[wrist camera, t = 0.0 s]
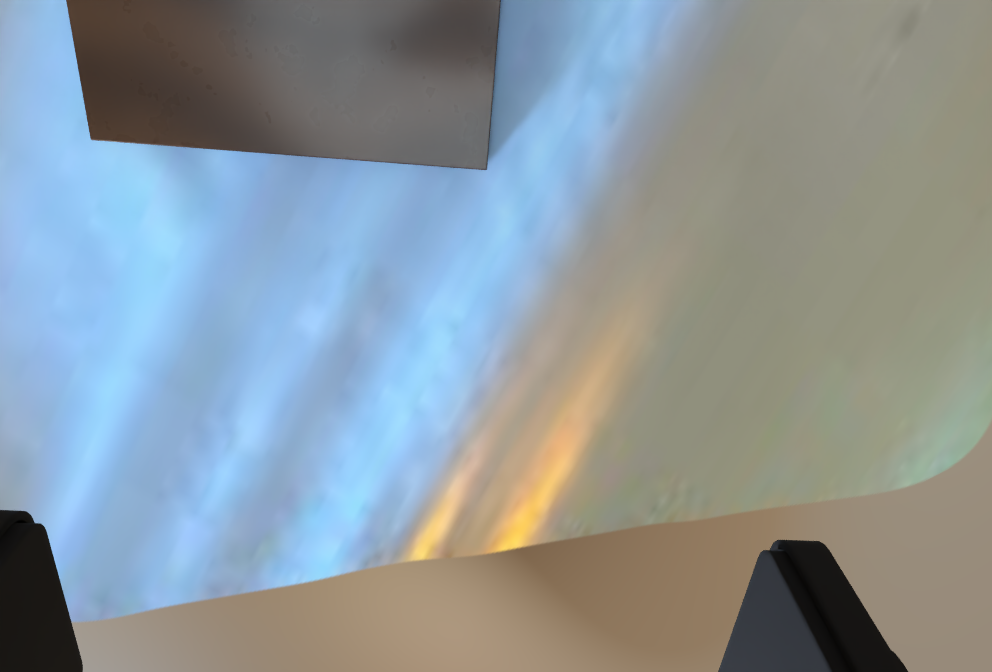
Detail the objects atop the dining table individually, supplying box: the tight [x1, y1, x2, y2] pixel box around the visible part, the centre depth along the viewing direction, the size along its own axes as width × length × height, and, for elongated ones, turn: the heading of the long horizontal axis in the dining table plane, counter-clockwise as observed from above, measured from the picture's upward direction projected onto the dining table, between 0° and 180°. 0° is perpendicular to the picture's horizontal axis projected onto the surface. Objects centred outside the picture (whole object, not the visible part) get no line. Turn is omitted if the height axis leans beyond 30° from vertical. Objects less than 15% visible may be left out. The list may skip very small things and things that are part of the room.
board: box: [66, 0, 501, 170], centre depth 34 cm, size 14×20×1 cm
